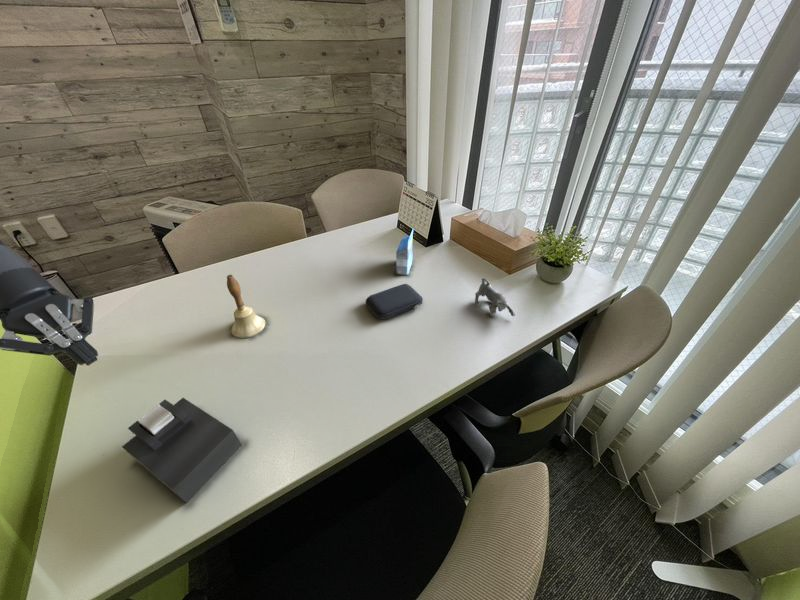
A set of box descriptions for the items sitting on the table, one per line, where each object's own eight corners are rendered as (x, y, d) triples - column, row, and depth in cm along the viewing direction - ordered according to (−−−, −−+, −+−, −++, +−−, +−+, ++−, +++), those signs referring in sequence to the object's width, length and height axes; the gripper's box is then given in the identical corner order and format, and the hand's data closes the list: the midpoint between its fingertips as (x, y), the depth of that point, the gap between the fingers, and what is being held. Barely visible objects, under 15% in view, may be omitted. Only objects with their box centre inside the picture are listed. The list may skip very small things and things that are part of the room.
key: (142, 426, 56) (137, 420, 55) (162, 409, 58) (158, 404, 57) (154, 435, 54) (149, 430, 53) (175, 418, 57) (170, 412, 56)
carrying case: (381, 326, 85) (427, 307, 91) (380, 317, 83) (428, 299, 89) (363, 304, 92) (407, 288, 98) (362, 295, 90) (407, 279, 96)
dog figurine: (470, 300, 93) (474, 279, 89) (486, 294, 95) (490, 273, 91) (498, 325, 85) (503, 303, 80) (515, 318, 87) (521, 297, 82)
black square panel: (134, 459, 58) (113, 439, 54) (191, 411, 65) (176, 390, 61) (186, 503, 52) (167, 484, 48) (242, 445, 60) (229, 424, 56)
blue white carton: (401, 259, 111) (401, 226, 103) (412, 261, 110) (413, 227, 102) (396, 274, 104) (395, 239, 96) (408, 275, 103) (408, 240, 95)
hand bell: (242, 315, 88) (222, 265, 78) (270, 318, 87) (254, 268, 78) (225, 336, 82) (201, 285, 72) (256, 339, 81) (235, 288, 71)
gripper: (-68, 295, 43) (39, 388, 46) (52, 251, 52) (135, 331, 55) (-48, 313, 49) (47, 395, 52) (58, 270, 58) (133, 342, 61)
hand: (92, 361), depth 53 cm, fingers closed
